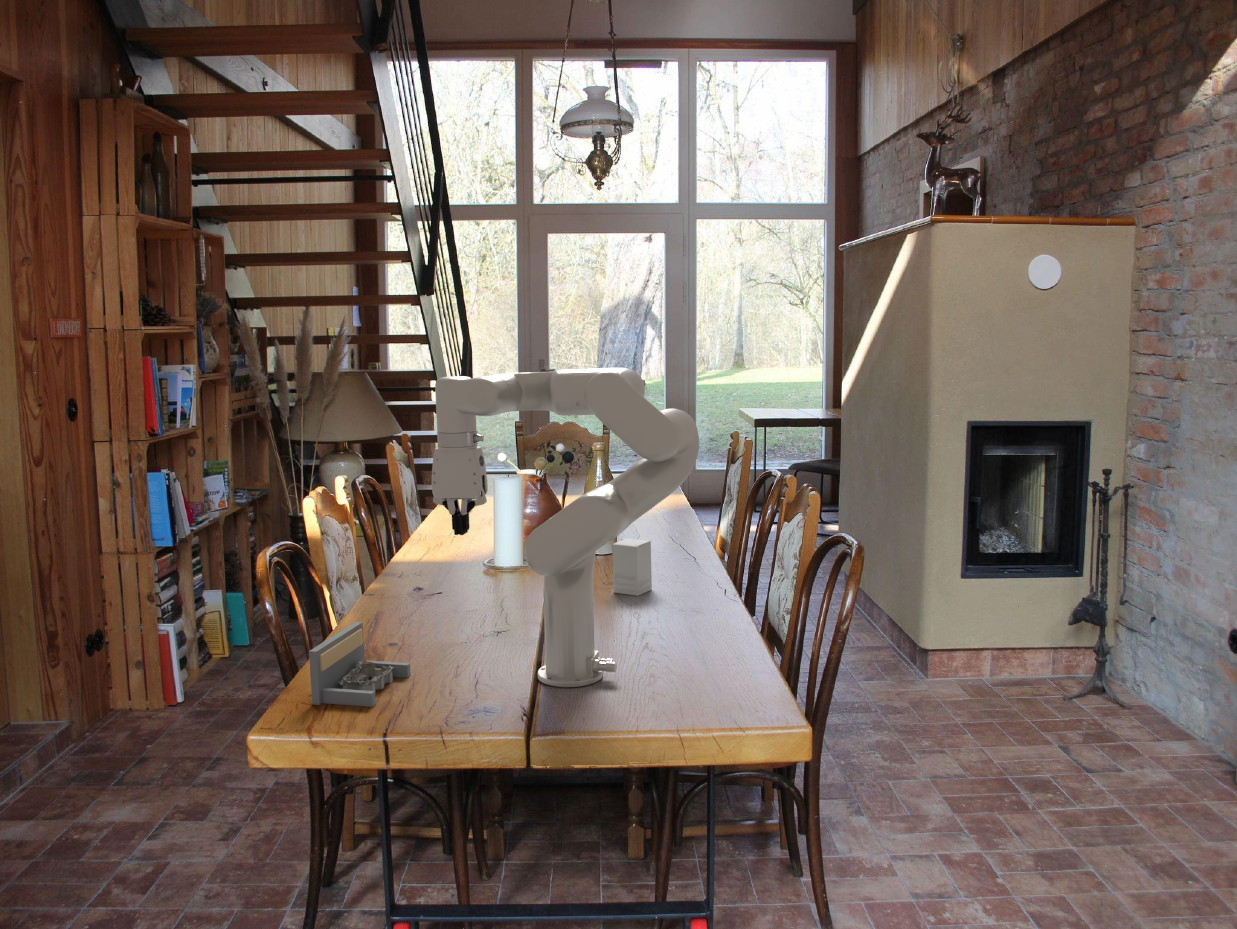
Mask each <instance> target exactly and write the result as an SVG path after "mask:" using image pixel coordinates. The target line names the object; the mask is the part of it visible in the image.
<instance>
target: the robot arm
mask: <svg viewBox="0 0 1237 929" xmlns="http://www.w3.org/2000/svg"><path fill="white" fill-rule="evenodd" d="M434 385H435V386H434V388H435V411H436V412H435V414H436V434H437V435H436V438H437V446H436V447H435V448H434V451H433V457H432V467H431V468H432V469H431V490H432V492H431V493H432V495H433V497H432V502H433V504H437V505H440V506H443V507H444V508H445V509H446V510H447V511H448V513H449V515H450V516H451V528H452V530H453V534H454V535H455V536H458V535H459V536H464V535H466V534H467V533H468V532H469V530H470V513H471V512H472V510H473V509H474V508H475V507H478V506H484V505H485V504H487V501H488V500H487V496H486V495H487V493H488V492H489V491H488V490H489V488H488V487H489V486H488V485H489V484H488V475H487V468H486V463H485V456H484V452H483V448H482V446H479V445H478V444H479V443H482V442H484V440H485V437H484V435H483V434H480V433H478V430H477V417H492V416H497V415H500V414H504V413H509V412H521V411H524V412H526V411H547V412H548V411H549V412H553V413H554V414H555V415H557V416H562V417H565V416H566V417H567V416H571V417H572V416H595V417H596V418H597V420H599V421H600V422H601V424H603V425H604V426H606V428H607V429H608V430H609V431H610V432H612V433H613V434H614V435H615V436H617V437H618V439H620V440H621V441H622V442H623V443H624V444H626V446H627V447H629V449H631V450H632V451H633V452H634V453H636V454H637V455H638V456H639V457H641V459H639V460H638V461H636V462H635V463H633V464H632V465H630V466H629V467H628V468H627V469H626V470H624V471H623V472H621V474H619V475H618V476H616V477H614V478H613V479H612V480H610V481H609V482H607V483H605V484H602V485H601V486H598V487H595V488H594V489H592V490H590V491H588V492H585V493H584V494H582V495H580V496H579V497H577V498H575V499H574V500H573V501H571V503H569V504H568V505H566V506H565V507H563V508H562V509H561V510H559V511H558V512H557V513H555V514H554V515H552V516H551V517H549V518H548V519H547V520H545V521H544V522H543V523H541V524H540V525H538V526H537V527H536V528H534V529H533V530H532V531H531V532H530V533H529V535H528V536H527V538H526V541H525V544H524V552H523V553H524V558H525V561H526V563H527V566H528V567H529V568H530V569H531V570H532V571H533V572H535V573H536V574H538V575H540V576H543V587H542V588H543V590H542V591H543V623H544V624H543V626H544V655H545V658H544V659H545V662H544V663H545V665H543V666H541V667H540V668H539V669H538V670H537V679H538V680H539V681H540V682H541V683H543V684H545V685H548V686H551V687H556V688H579V687H584V686H588V685H592V684H595V683H597V682H599V681H600V680H601V679H602V678H603V676H604V672H606V673H616V672H617V667H618V666H617V662H615V661H614V659H613V658H602V657H601V656H600V652H599V650H596V649H595V615H594V614H595V610H594V609H595V608H594V605H595V604H594V571H595V558H596V552H597V551H598V550H599V549H601V548H602V547H604V546H605V545H607V544H608V543H609V542H611V541H612V540H614V539H615V538H617V537H618V536H619V535H621V534H622V533H624V531H626V530H627V529H628V528H629V527H630V526H631V525H632V524H633V523H634V522H635V521H638V519H640V517H642V516H643V515H645V514H647V513H648V512H650V511H651V510H652V509H653V508H654V507H656V506H657V505H658V504H660V503H661V502H663V501H664V500H666V499H667V498H668V497H669V496H670V495H671V494H673V493H674V492H676V490H677V489H678V488H680V487H681V485H682V484H683V483H684V482H685V481H686V480H687V479H688V477H689V476H690V474H691V472H692V470H693V469H694V467H695V464H696V462H697V459H698V456H699V451H700V450H699V449H700V435H699V431H698V427H697V424H696V422H695V420H694V418H692V415H690V414H689V413H687V412H686V411H684V410H681V409H678V408H665V409H661V410H659V409H658V408H657V407H656V406H654V405H653V403H651V402H650V401H648V400H647V399H646V397H645V389H646V388H645V383H644V380H643V379H642V377H641V376H640V374H639V373H638V372H636V371H635V370H632V369H630V368H627V367H600V368H599V367H598V368H576V369H571V368H570V369H555V370H552V371H534V372H507V373H497V374H491V375H483V376H478V377H474V378H472V377H470V376H465V375H454V376H453V375H451V376H442V377H440V378H438V379H437V380H436V381H435V384H434ZM459 500H461V503H460V502H459Z"/></svg>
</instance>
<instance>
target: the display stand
mask: <svg viewBox="0 0 1237 929" xmlns="http://www.w3.org/2000/svg"><path fill="white" fill-rule="evenodd" d="M364 640H365V639H364V624H363V621H354V622H353V623H352V624H350V625H348V626H347V627H345V628H344V629H342V630H340V631H339V632H337V633H336V634H334V635H332V636H331V637H329V638H328V639H326V640H324V641H323V642H321V643H320V644H317V646H315V647H313V648H312V649H310V650H309V651H308V657H309V658H308V659H309V672H310V688H311V690H310V691H311V704H312V705H315V706H319V705H322V704H326V705H327V704H328V705H343V706H355V707H357V706H358V707H367V708H368V707H369V708H370V707H371V708H373V707H374V706H376V704H377V702H376V690H375V691H365V690H350V689H342V688H341V684H338V683H337V682H339V681H341V680H342V678H343V677H344V676H346V675H347V674H348V673H350V671H351V670H353V669H355V666H356V665H357V663H358V662H360V661H361V660H363V659H365V645H364V644H365V643H364ZM365 660H366V661H368V662H373V663H375V665H376V668H382V665H384V666H385V667H389V666H391V667H395V668H392V669H391V671H392V676H393V678H394V677H395V678H406V679H407V678H409V677H411V673H412V672H411V663H409V662H400V661H398V662H397V661H383V660H382V661H381V660H380V661H379V660H377V661H376V660H367V659H365Z"/></svg>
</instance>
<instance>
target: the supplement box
mask: <svg viewBox="0 0 1237 929" xmlns="http://www.w3.org/2000/svg"><path fill="white" fill-rule="evenodd" d="M611 552H612V554H611V555H612V579H613V581H612V584H613V593H616V594H622V595H628V596H637V597H639V596H641V595H643V594H645V593H647V592H649V591H652V590H653V583H652V582H653V580H652V577H653V576H652V541H651V540H643V539H635V538H627V537H626V538H624V539H622V540H619V541H616V542H614V543H612V544H611Z"/></svg>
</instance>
